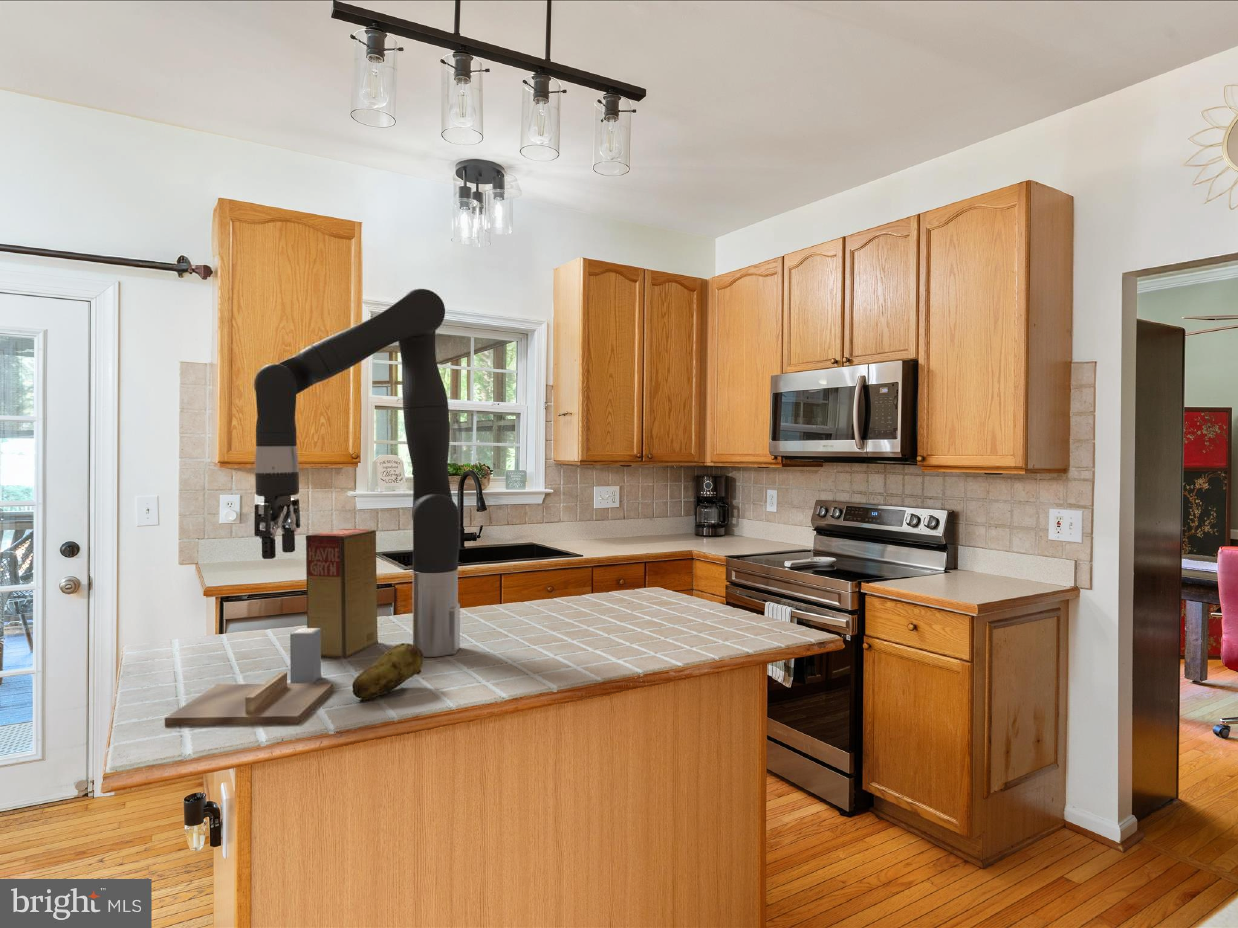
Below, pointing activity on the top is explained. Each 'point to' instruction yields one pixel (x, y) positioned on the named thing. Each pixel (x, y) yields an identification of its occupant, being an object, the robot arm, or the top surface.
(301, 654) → the block
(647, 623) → the top surface
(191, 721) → the board
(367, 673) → the potato
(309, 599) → the food packaging
